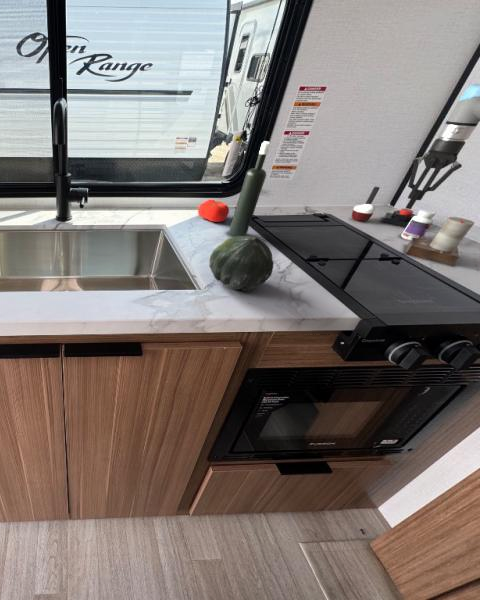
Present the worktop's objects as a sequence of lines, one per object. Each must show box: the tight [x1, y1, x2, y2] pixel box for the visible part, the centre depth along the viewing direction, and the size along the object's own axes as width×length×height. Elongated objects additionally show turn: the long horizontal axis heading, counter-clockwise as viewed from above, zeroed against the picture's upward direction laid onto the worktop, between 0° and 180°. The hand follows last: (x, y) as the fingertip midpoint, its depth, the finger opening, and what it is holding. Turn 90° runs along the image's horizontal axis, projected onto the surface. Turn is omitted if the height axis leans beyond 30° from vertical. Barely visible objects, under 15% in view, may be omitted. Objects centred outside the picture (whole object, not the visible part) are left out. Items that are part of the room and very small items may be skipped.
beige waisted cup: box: [430, 216, 475, 252], centre depth 98 cm, size 6×6×9 cm
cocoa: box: [351, 186, 380, 223], centre depth 124 cm, size 10×6×12 cm, turn 112°
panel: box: [405, 237, 464, 267], centre depth 102 cm, size 12×10×3 cm
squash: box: [209, 235, 274, 292], centre depth 84 cm, size 14×15×15 cm
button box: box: [381, 210, 417, 229], centre depth 124 cm, size 10×8×4 cm
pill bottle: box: [401, 209, 437, 241], centre depth 111 cm, size 5×5×10 cm
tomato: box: [197, 199, 230, 223], centre depth 124 cm, size 10×11×6 cm
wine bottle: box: [227, 140, 271, 237], centre depth 105 cm, size 6×6×30 cm
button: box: [399, 208, 414, 216], centre depth 123 cm, size 4×4×2 cm
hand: (408, 207), depth 122 cm, fingers closed
